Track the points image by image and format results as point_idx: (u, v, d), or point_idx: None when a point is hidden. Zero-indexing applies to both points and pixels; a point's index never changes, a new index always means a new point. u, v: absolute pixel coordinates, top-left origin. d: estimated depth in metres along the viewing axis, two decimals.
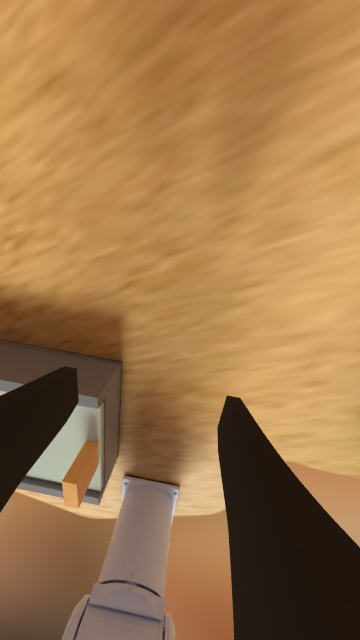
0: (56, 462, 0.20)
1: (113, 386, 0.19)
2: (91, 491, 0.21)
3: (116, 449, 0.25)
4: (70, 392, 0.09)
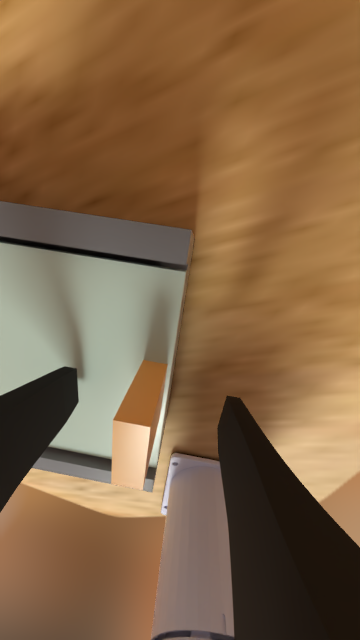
0: (80, 413, 0.11)
1: (189, 265, 0.10)
2: None
3: None
4: (70, 392, 0.09)
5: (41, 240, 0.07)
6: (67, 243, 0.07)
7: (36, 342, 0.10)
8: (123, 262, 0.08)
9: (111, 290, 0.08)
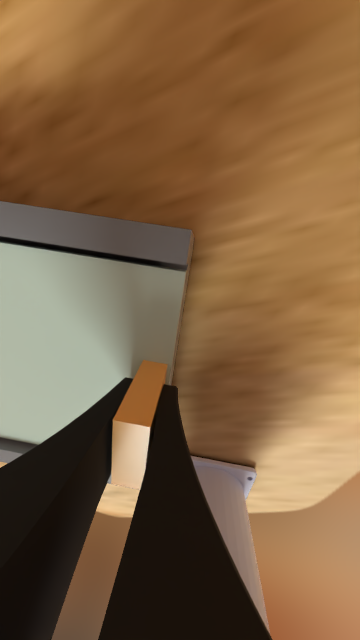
0: (80, 413, 0.11)
1: (189, 265, 0.10)
2: None
3: None
4: None
5: (41, 240, 0.07)
6: (67, 243, 0.07)
7: (36, 342, 0.10)
8: (123, 262, 0.08)
9: (111, 290, 0.08)
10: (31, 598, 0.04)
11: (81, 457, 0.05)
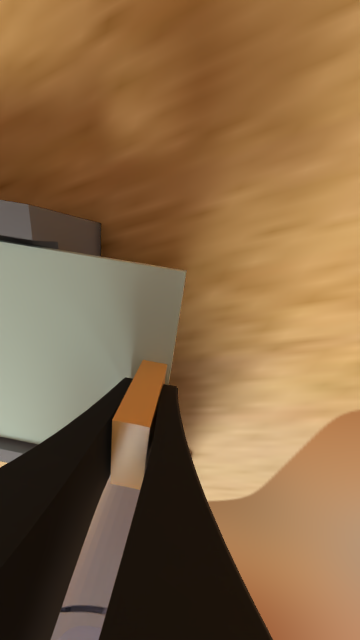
0: (80, 412, 0.11)
1: (80, 247, 0.10)
2: None
3: None
4: None
5: None
6: None
7: (36, 341, 0.09)
8: (123, 262, 0.08)
9: (111, 290, 0.08)
10: (30, 598, 0.04)
11: (81, 457, 0.05)
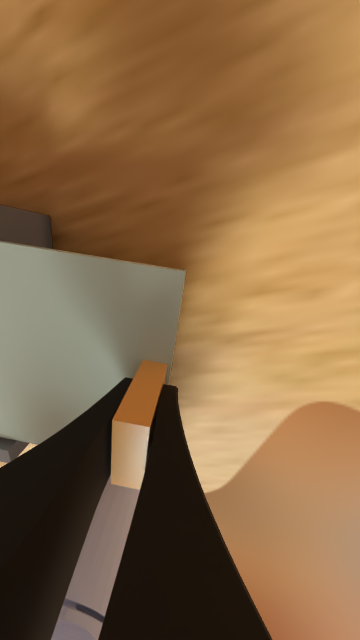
0: (80, 412, 0.11)
1: (21, 238, 0.10)
2: None
3: None
4: None
5: None
6: None
7: (36, 341, 0.09)
8: (123, 262, 0.08)
9: (111, 290, 0.08)
10: (31, 598, 0.04)
11: (81, 457, 0.05)
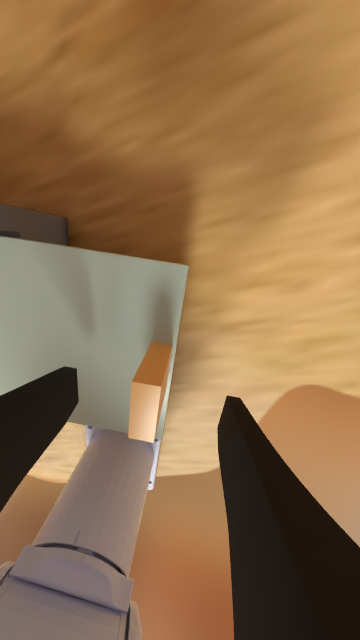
0: (96, 389, 0.13)
1: (44, 238, 0.12)
2: None
3: None
4: (70, 392, 0.09)
5: None
6: None
7: (60, 326, 0.11)
8: (136, 258, 0.09)
9: (126, 281, 0.10)
10: None
11: None
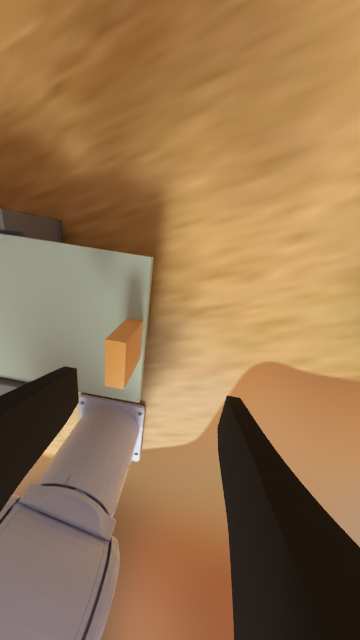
0: (84, 359, 0.15)
1: (43, 237, 0.15)
2: (24, 384, 0.17)
3: None
4: (70, 392, 0.09)
5: None
6: None
7: (55, 306, 0.14)
8: (112, 251, 0.12)
9: (105, 269, 0.13)
10: None
11: None
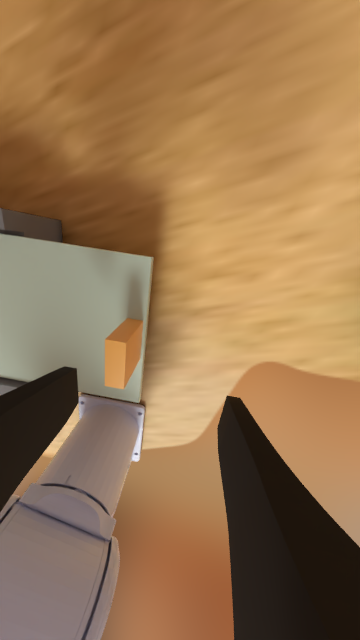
0: (84, 359, 0.15)
1: (43, 237, 0.15)
2: (24, 384, 0.17)
3: None
4: (70, 392, 0.09)
5: None
6: None
7: (55, 306, 0.14)
8: (112, 251, 0.12)
9: (105, 269, 0.13)
10: None
11: None
